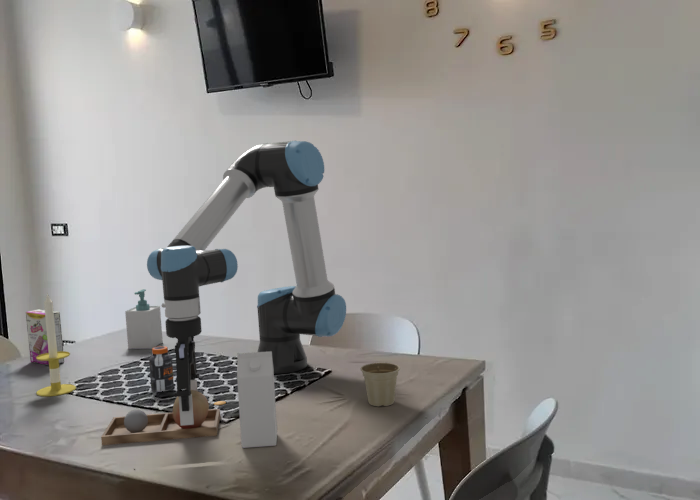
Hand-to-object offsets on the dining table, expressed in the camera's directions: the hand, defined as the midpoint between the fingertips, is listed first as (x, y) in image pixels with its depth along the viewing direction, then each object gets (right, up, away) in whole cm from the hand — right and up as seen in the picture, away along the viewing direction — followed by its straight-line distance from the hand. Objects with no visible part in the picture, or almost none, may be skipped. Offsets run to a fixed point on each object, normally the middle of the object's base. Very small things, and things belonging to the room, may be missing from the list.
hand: (189, 415), depth 155 cm
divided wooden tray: (-6, -4, 0) cm, 7 cm away
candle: (-44, -2, +35) cm, 57 cm away
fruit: (0, -3, 0) cm, 3 cm away
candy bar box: (-60, +1, +66) cm, 90 cm away
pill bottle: (-15, -1, +33) cm, 36 cm away
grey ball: (-11, -3, -1) cm, 12 cm away
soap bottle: (-34, +4, +83) cm, 90 cm away
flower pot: (+43, 0, +13) cm, 45 cm away
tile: (+1, -1, +17) cm, 17 cm away
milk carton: (+16, -4, -8) cm, 19 cm away
